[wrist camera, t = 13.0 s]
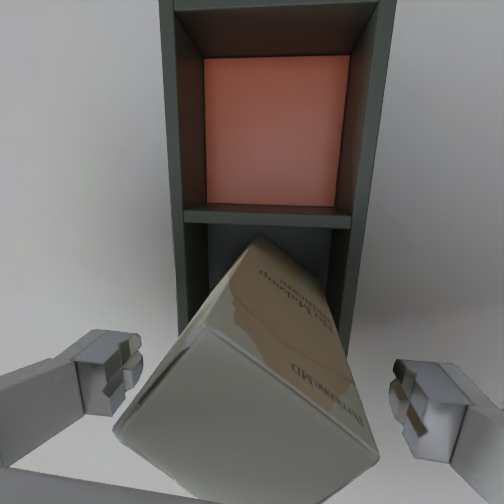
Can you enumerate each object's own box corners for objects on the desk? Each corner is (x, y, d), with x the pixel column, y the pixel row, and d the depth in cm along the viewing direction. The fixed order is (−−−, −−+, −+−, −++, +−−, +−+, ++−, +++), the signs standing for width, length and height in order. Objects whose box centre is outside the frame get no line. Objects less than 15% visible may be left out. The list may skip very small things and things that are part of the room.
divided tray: (361, 46, 13) (400, -21, 9) (328, 335, 18) (343, 385, 13) (195, 51, 14) (157, -8, 10) (203, 325, 18) (179, 369, 14)
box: (321, 280, 16) (400, 471, 5) (277, 326, 17) (271, 559, 7) (255, 227, 16) (200, 322, 5) (215, 278, 17) (101, 442, 6)
